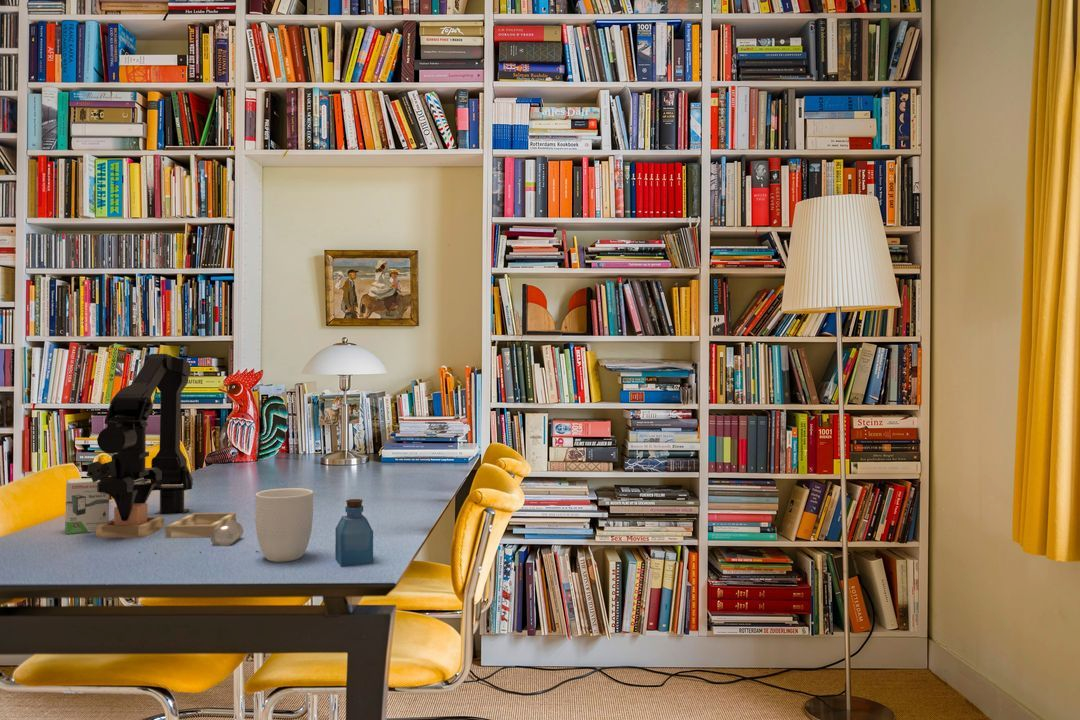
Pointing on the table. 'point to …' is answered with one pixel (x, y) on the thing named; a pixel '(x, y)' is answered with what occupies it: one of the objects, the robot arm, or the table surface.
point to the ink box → (85, 506)
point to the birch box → (198, 525)
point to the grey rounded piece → (227, 534)
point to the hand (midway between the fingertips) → (130, 518)
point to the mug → (284, 522)
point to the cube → (133, 515)
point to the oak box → (129, 529)
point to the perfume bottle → (354, 537)
